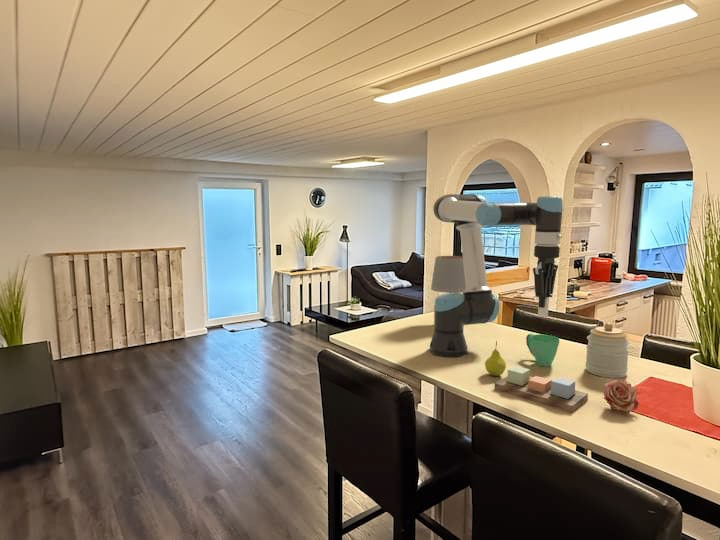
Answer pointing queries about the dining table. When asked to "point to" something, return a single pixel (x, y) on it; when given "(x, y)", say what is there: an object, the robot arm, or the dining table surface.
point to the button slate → (563, 387)
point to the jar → (607, 352)
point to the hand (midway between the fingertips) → (542, 316)
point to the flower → (621, 396)
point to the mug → (542, 348)
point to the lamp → (448, 274)
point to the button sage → (518, 375)
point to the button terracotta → (539, 384)
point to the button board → (542, 396)
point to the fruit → (495, 364)
